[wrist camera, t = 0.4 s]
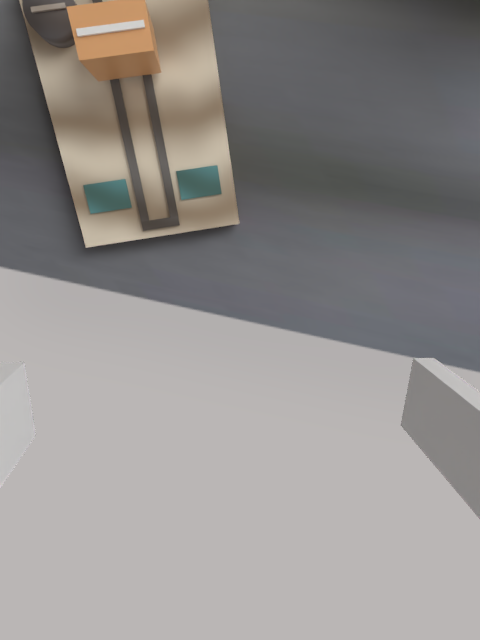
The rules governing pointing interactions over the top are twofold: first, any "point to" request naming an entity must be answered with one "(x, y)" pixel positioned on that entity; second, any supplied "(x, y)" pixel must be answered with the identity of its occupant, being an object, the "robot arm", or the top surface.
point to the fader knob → (115, 39)
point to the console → (139, 127)
